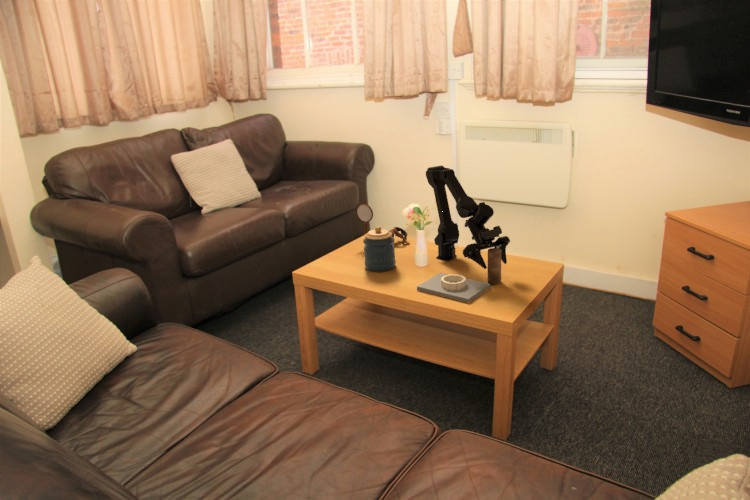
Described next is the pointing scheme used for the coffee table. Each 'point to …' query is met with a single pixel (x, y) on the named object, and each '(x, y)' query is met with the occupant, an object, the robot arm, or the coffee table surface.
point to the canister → (379, 250)
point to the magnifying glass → (365, 214)
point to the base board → (454, 294)
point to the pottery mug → (403, 233)
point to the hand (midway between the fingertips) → (496, 266)
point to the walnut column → (494, 266)
